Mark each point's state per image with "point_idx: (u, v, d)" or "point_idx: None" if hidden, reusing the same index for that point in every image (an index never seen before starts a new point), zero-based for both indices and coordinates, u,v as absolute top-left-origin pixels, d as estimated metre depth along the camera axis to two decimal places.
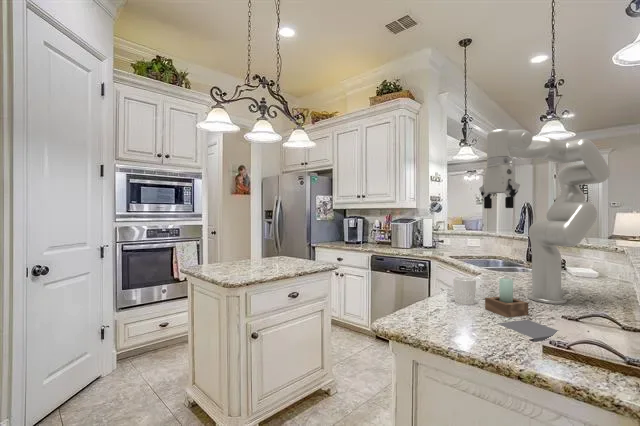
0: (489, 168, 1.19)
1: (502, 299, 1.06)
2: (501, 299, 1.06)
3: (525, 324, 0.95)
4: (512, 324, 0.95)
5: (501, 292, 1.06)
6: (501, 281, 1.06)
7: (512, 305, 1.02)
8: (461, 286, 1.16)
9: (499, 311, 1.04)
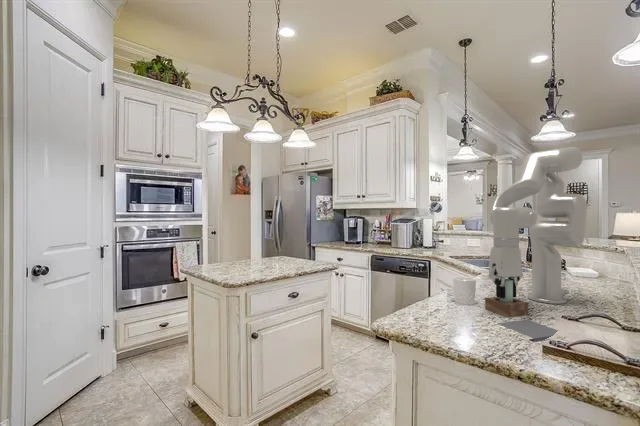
0: (508, 250, 1.04)
1: (502, 299, 1.06)
2: (501, 299, 1.06)
3: (525, 324, 0.95)
4: (512, 324, 0.95)
5: None
6: None
7: (512, 305, 1.02)
8: (461, 286, 1.16)
9: (499, 311, 1.04)
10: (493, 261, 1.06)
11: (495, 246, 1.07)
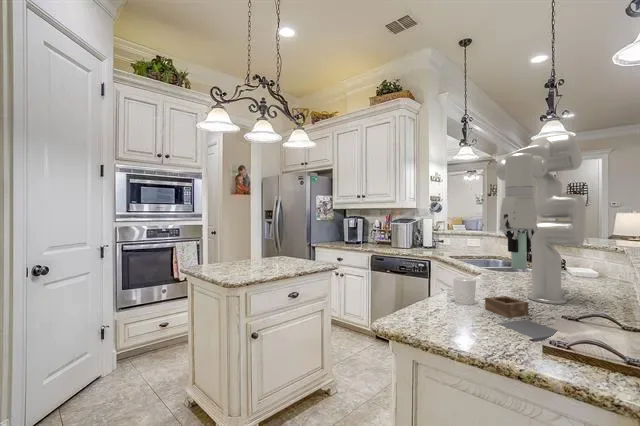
0: (521, 198, 0.95)
1: (514, 253, 0.97)
2: (513, 254, 0.97)
3: (525, 324, 0.95)
4: (512, 324, 0.95)
5: None
6: None
7: (512, 305, 1.02)
8: (461, 286, 1.16)
9: (499, 311, 1.04)
10: (505, 212, 0.97)
11: (507, 196, 0.98)
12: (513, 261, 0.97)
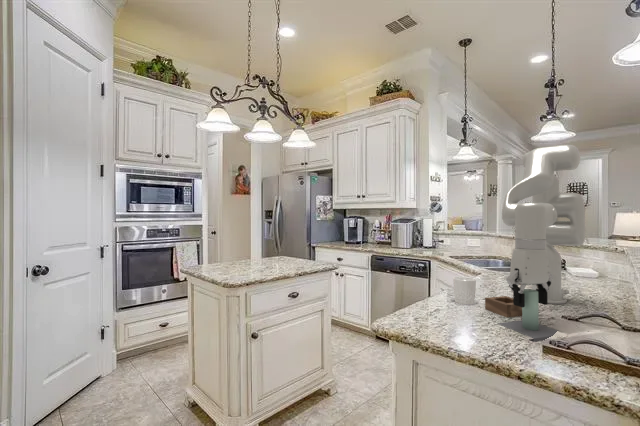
0: (533, 252, 0.89)
1: (525, 313, 0.91)
2: (525, 313, 0.91)
3: None
4: (512, 324, 0.95)
5: None
6: (524, 292, 0.91)
7: (512, 305, 1.02)
8: (461, 286, 1.16)
9: (499, 311, 1.04)
10: (515, 266, 0.91)
11: (518, 248, 0.92)
12: (524, 321, 0.91)
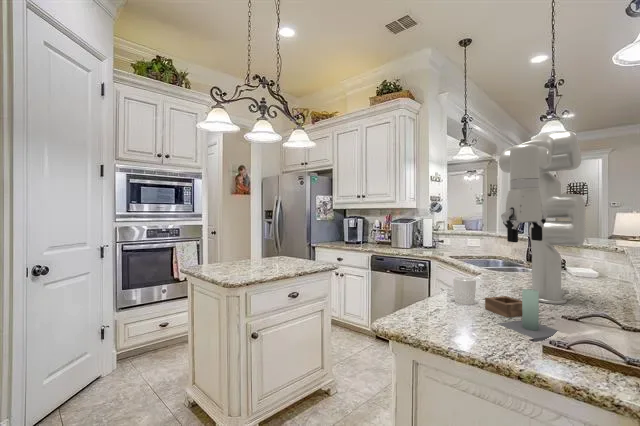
0: (527, 191, 0.94)
1: (525, 313, 0.91)
2: (525, 313, 0.91)
3: None
4: (512, 324, 0.95)
5: (525, 305, 0.91)
6: (525, 292, 0.91)
7: (512, 305, 1.02)
8: (461, 286, 1.16)
9: (499, 311, 1.04)
10: (511, 205, 0.95)
11: (513, 189, 0.96)
12: (524, 321, 0.91)
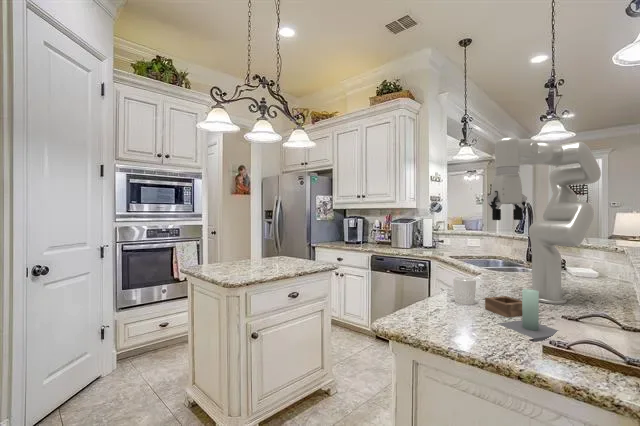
0: (509, 177, 1.11)
1: (525, 313, 0.91)
2: (525, 313, 0.91)
3: None
4: (512, 324, 0.95)
5: (525, 305, 0.91)
6: (525, 292, 0.91)
7: (512, 305, 1.02)
8: (461, 286, 1.16)
9: (499, 311, 1.04)
10: (495, 189, 1.12)
11: (497, 175, 1.13)
12: (524, 321, 0.91)
